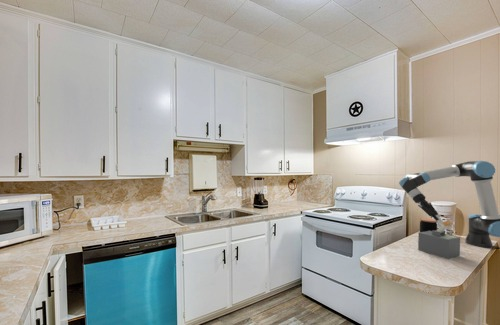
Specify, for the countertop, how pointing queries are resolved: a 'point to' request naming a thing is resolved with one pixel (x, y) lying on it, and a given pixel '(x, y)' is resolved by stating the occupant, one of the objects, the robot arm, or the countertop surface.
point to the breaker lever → (444, 226)
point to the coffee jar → (428, 225)
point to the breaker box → (439, 244)
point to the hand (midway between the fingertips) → (442, 224)
